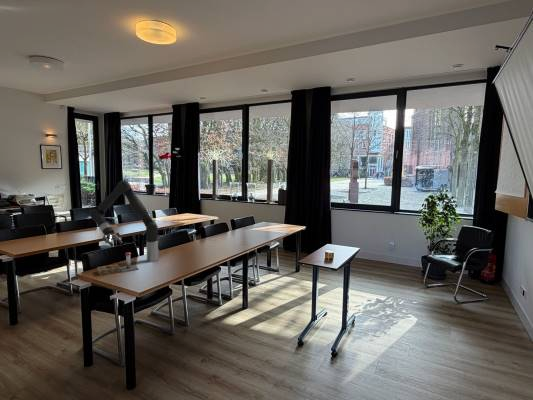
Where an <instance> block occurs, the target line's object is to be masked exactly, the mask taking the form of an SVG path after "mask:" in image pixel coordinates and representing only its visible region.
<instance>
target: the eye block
mask: <svg viewBox="0 0 533 400" xmlns="http://www.w3.org/2000/svg"><path fill="white" fill-rule="evenodd" d="M120 267H121V266H119V265H118V264H117V263H116V264H115V263H114V264H110V265H109V264H108V265H103V266H97V267H96V270H97V271H96V272H97V274H98V275H99V276H105V275H106V276H107V275H112V274H119V273H121V271H120Z"/></svg>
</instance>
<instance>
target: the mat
mask: <svg viewBox="0 0 533 400" xmlns="http://www.w3.org/2000/svg"><path fill="white" fill-rule="evenodd" d="M119 267H120V273H127V272H132V271H139V267H137V266H136V264H134V265H133V264H132V265H131V268H130V269H127V268H126V266H119Z"/></svg>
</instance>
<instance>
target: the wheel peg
mask: <svg viewBox="0 0 533 400" xmlns="http://www.w3.org/2000/svg"><path fill="white" fill-rule="evenodd" d="M124 255H125V258H126V259H125V261H126V265H125V267H126V268H127V269H130V268H131V266H132V265H131V255H132V252H130V251H129V252H125V254H124Z"/></svg>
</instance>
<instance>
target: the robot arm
mask: <svg viewBox="0 0 533 400" xmlns="http://www.w3.org/2000/svg"><path fill="white" fill-rule="evenodd" d="M122 194H124V196H125V197H126V199H127V201H128V204H129V205H130V208H131V209H132V211H133V213H134V214H135V215H136V216H137V217H138V218H139V219H140V221H142V223H143V225H144V226H145V239H146V262H148V263H154V262H158V261H159V260H160V259H159V258H160V254H159V253H160V250H159V240H158V239H159V237H158V235H159V234H158V229H159V228H158V224H157V223H156V222H155V221H154V220H153V218H152V217H151V215H150V214H149V212H148V210H147V209H146V206H145V205H144V204H143V202H142V201H141V200H140V198H139V197H138V196H137V194H136V193H135V191H134V189H133V188H132V186H131V184H130V183H129V182H128V181H127V180H121V181H118V183H117V185H116V186H115V187H114V189H113V191H112V192H110V193H109V194H108V195H107V196H106V197H105V198H104V199H103V200H102V201H101V202H100V203H99V205H98V207H99V208H98V209H90V210H89V213H88V214H89V218H91V219H92V221H94V222H95V223H96V224H97V226H98V228H99V230H100V231H101V232H102V234H103V236H102V239H103V240H104V242H105V243H106V244H107V243H108V244H109V245H110V247H113V246H114V243H113V240H116V241H118V243H119V245H123V241H122V239H123V237H122V235H121V234H120V233H119V232H117V233H115V230H114V229H113V228H112V226H111V225H110V223H108V221H107V220H106V218H104V217H103V216H105V213H106V211H107V210H108V209H109V208H110V207H111V206H112V205H113V204H114V203H115V201H116V200H117V199H119V197H120V196H121V195H122Z"/></svg>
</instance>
